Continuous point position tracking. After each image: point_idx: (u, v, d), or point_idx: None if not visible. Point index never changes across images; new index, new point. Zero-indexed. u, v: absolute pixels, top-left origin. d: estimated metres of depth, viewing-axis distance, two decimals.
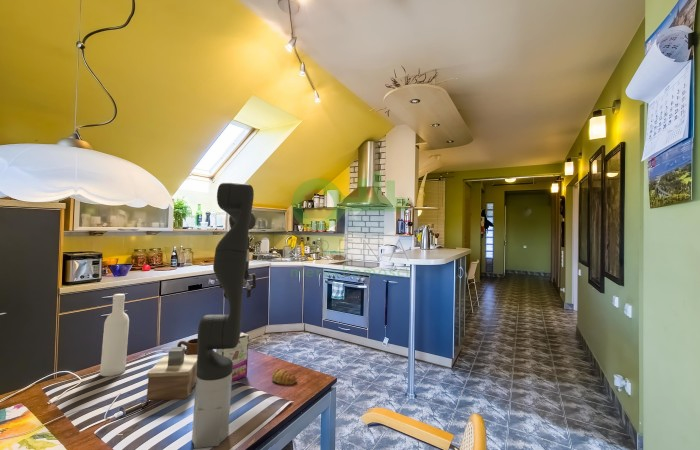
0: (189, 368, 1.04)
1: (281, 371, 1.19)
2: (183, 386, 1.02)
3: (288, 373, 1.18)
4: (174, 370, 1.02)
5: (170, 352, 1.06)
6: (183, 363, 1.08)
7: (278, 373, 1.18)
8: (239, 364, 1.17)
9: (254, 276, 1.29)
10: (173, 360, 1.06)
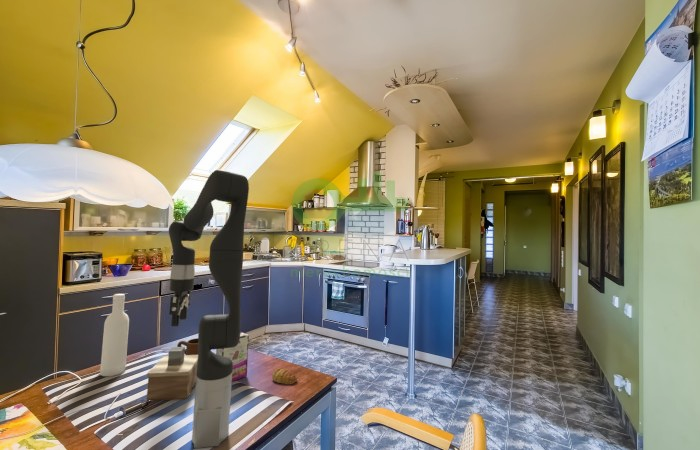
0: (189, 368, 1.04)
1: (281, 371, 1.19)
2: (183, 386, 1.02)
3: (288, 373, 1.19)
4: (174, 370, 1.02)
5: (170, 352, 1.06)
6: (183, 363, 1.08)
7: (278, 373, 1.18)
8: (239, 364, 1.17)
9: None
10: (173, 360, 1.06)
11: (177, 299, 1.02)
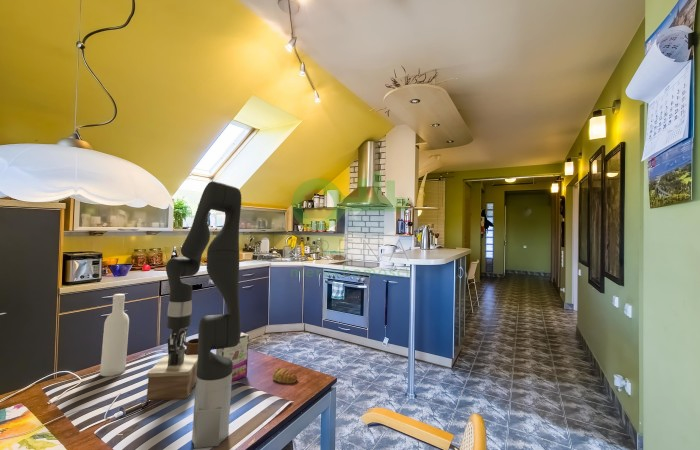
0: (189, 368, 1.04)
1: (282, 370, 1.20)
2: (183, 386, 1.02)
3: (289, 372, 1.19)
4: (174, 370, 1.02)
5: None
6: (183, 363, 1.08)
7: (279, 372, 1.18)
8: (239, 364, 1.17)
9: None
10: None
11: (174, 342, 1.02)
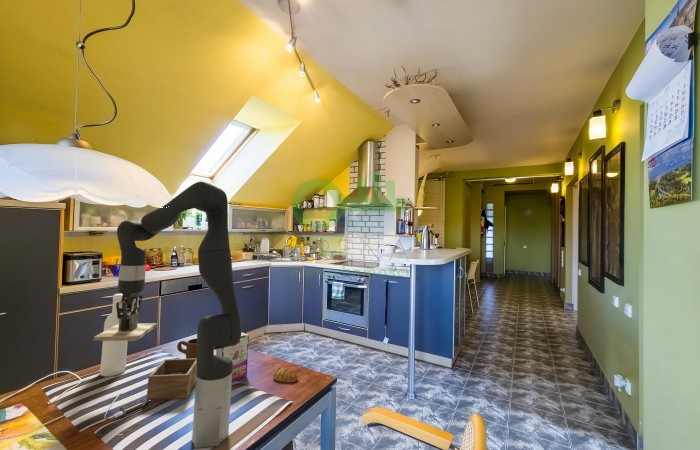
0: (140, 333, 1.01)
1: (282, 369, 1.20)
2: (183, 386, 1.02)
3: (289, 371, 1.20)
4: (123, 334, 0.99)
5: None
6: (135, 329, 1.05)
7: (279, 371, 1.19)
8: (239, 364, 1.17)
9: (142, 297, 1.12)
10: None
11: (123, 305, 0.99)
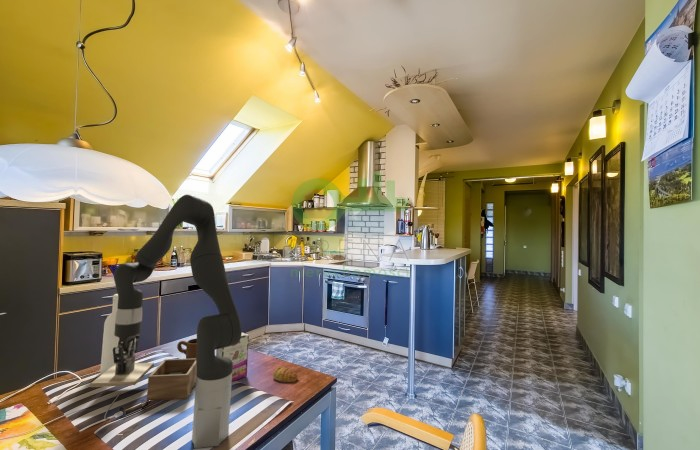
0: (136, 377, 1.01)
1: (282, 369, 1.21)
2: (183, 386, 1.02)
3: (289, 371, 1.20)
4: (120, 380, 0.99)
5: None
6: (132, 372, 1.05)
7: (279, 371, 1.19)
8: (239, 364, 1.17)
9: (139, 337, 1.11)
10: None
11: (120, 350, 0.99)
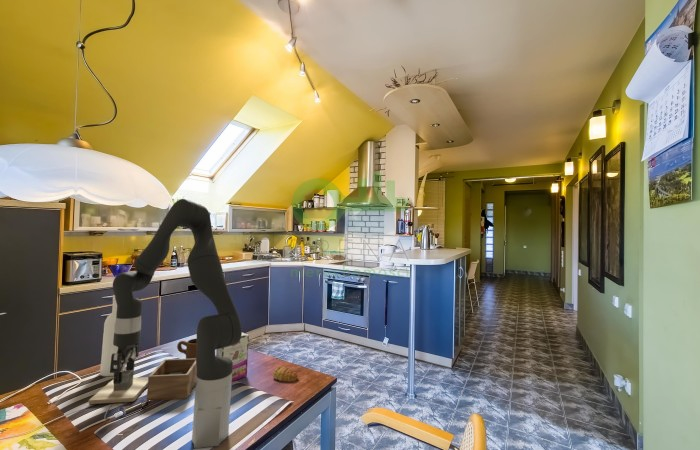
0: (135, 393, 1.01)
1: (282, 369, 1.21)
2: (183, 386, 1.02)
3: (289, 370, 1.21)
4: (118, 396, 0.99)
5: None
6: (131, 387, 1.04)
7: (279, 371, 1.20)
8: (239, 364, 1.17)
9: (138, 343, 1.11)
10: (119, 385, 1.02)
11: (118, 356, 0.98)
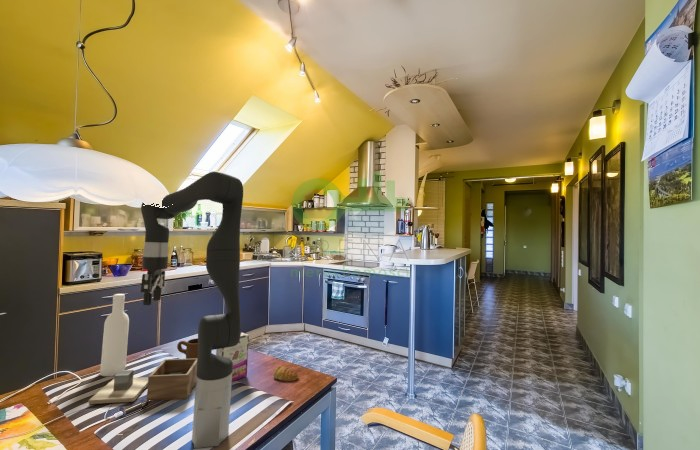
0: (135, 393, 1.01)
1: (282, 368, 1.21)
2: (183, 386, 1.02)
3: (289, 370, 1.21)
4: (118, 396, 0.99)
5: (116, 376, 1.02)
6: (131, 387, 1.04)
7: (280, 370, 1.20)
8: (239, 364, 1.17)
9: (164, 273, 1.12)
10: (119, 385, 1.02)
11: (149, 276, 0.99)
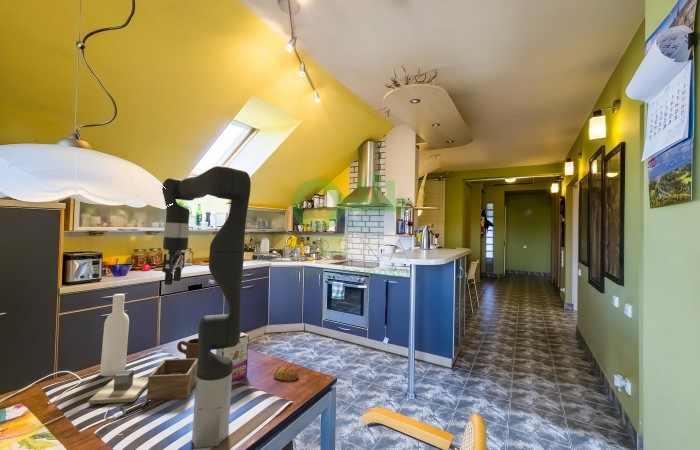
0: (135, 393, 1.01)
1: (282, 368, 1.22)
2: (183, 386, 1.02)
3: (290, 369, 1.21)
4: (118, 396, 0.99)
5: (116, 376, 1.02)
6: (131, 387, 1.04)
7: (280, 370, 1.20)
8: (239, 364, 1.17)
9: (184, 254, 1.13)
10: (119, 385, 1.02)
11: (170, 256, 1.00)
